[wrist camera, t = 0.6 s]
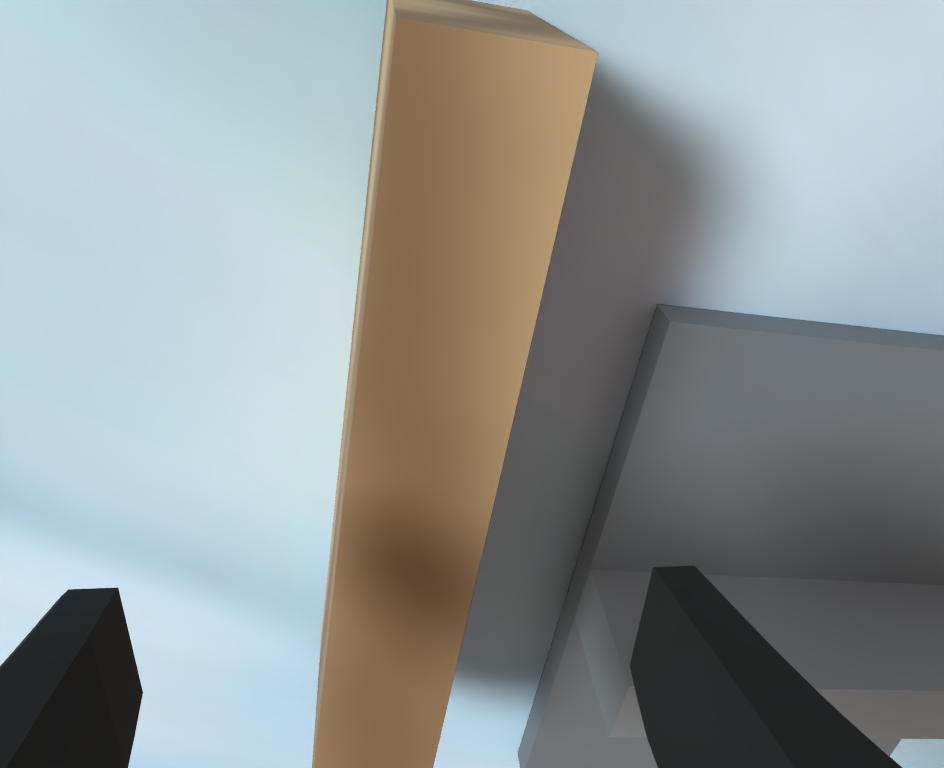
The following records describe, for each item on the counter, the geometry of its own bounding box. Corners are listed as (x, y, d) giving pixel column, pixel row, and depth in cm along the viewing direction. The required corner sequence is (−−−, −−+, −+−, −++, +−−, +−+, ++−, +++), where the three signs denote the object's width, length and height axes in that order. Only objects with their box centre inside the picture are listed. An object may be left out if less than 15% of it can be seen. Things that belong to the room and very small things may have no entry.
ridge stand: (1122, 355, 22) (1303, 461, 18) (861, 753, 31) (939, 887, 27) (657, 304, 19) (737, 412, 15) (517, 753, 28) (544, 901, 24)
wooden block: (525, 9, 16) (597, 52, 11) (411, 628, 25) (421, 814, 20) (388, -15, 15) (396, 17, 10) (321, 626, 24) (308, 815, 19)
